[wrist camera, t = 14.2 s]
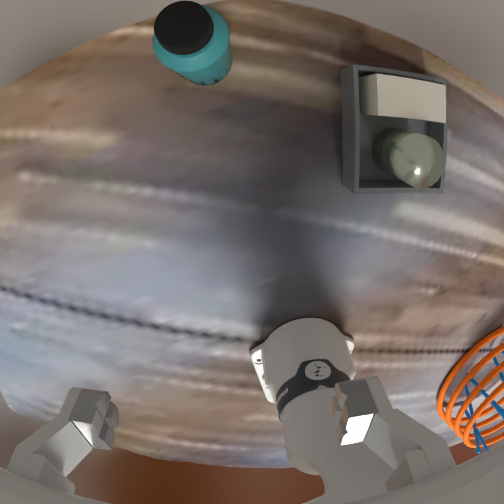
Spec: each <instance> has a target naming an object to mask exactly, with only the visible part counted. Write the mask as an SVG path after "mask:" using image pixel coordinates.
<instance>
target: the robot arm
mask: <svg viewBox="0 0 504 504" xmlns="http://www.w3.org/2000/svg"><path fill="white" fill-rule="evenodd" d="M353 348H354V341H353V339H351V338H349V337H347V336H345V335H343V334H342V333H341V332H340V331H339V330H338V328H337V327H336V326H335V325H333V324H332V323H330V322H328V321H326V320H323V319H318V318H302V319H297V320H293V321H290V322H288V323H286V324H284V325H282V326H280V327H279V328H277V329H276V330H275V331H273V332H272V333H271V334H270V336H269V337H268V338H267V339H266V341H265V342H264V343H262V344H261V345H259V346H257V347H255V348H254V349H252V350H251V352H250V356H251V360H252V362H253V365H254V367H255V370H256V373H257V375H258V378H259V380H260V383H261V386H262V388H263V391H264V393H265V396H266V398H267V400H268V401H269V402H272V403H275V406H276V409H277V414H278V416H279V419H280V421H281V422H282V426H283V433H284V441H285V448H286V455H287V458H288V460H289V462H290V463H291V464H292V465H293V466H294V467H296V468H297V469H298V470H300V471H303V472H305V473H309V474H314V475H321V477H322V480H323V482H324V485H325V493H324V495H322V496H320V497H318V498H316V499H313V500H311V501H309V502H306V503H304V504H504V442H502V443H501V444H499V445H497V446H495V447H494V448H492V449H490V450H488V451H486V452H484V453H482V454H480V455H478V456H476V457H474V458H473V459H470V460H468V461H466V462H464V463H462V464H460V465H458V466H456V464H455V461H454V459H453V457H452V455H451V453H450V450H449V448H448V446H447V444H446V442H445V440H444V438H442V437H441V436H439V435H438V434H436V433H434V432H433V431H431V430H429V429H428V428H426V427H425V426H423V425H422V424H420V423H418V422H417V421H415V420H414V419H412V418H411V417H409V416H408V415H406V414H404V413H403V412H401V411H400V410H398V409H393V408H392V406H391V403H390V401H389V399H388V397H387V394H386V392H385V390H384V388H383V386H382V383H381V381H380V379H379V377H378V376H372V377H367V378H360V379H355V380H353V378H354V375H355V374H356V371H355V367H354V364H353V360H352V357H351V353H352V350H353ZM110 400H111V396H110V394H109V393H108V392H106V391H98V390H90V389H83V388H75V387H72V388H71V389H70V390H69V392H68V395H67V397H66V399H65V401H64V404H63V406H62V408H61V410H60V413H59V415H58V417H57V418H53V419H52V420H51V421H49V422H48V423H47V424H45V425H44V426H43V427H41V428H40V429H39V430H37V431H36V432H35V433H34V434H32V435H31V436H30V437H28V438H27V439H25V440H24V441H23V442H21V443H20V444H19V445H17V446H16V449H15V451H14V453H13V456H12V458H11V461H10V463H9V466H8V468H7V470H5V469H3V468H0V504H109V503H105V502H100V501H96V500H92V499H88V498H83V497H80V496H77V495H73V494H74V490H75V485H74V484H73V483H72V482H71V481H70V480H69V479H67V478H66V476H67V475H68V474H69V473H70V472H71V471H72V470H73V469H74V468H75V467H76V466H77V465H78V463H79V462H80V461H81V460H82V459H83V458H84V457H85V456H86V455H87V454H88V453H89V452H90V451H91V450H92V447H93V448H100V449H107V450H111V449H112V446H113V442H114V438H115V435H114V433H113V431H114V430H115V429H116V428H117V427H118V423H119V412H118V408H117V407H116V405H115V404H114V403H112V402H111V401H110Z"/></svg>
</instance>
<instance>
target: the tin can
mask: <svg viewBox="0 0 504 504" xmlns="http://www.w3.org/2000/svg"><path fill="white" fill-rule="evenodd" d="M372 154H373V158H374V160H375V162H376V164H377V165H378V166H379V167H380V168H381V169H383V170H385V171H387V172H388V173H390V174H392V175H394V176H396V177H397V178H399V179H401V180H403V181H404V182H406V183H408V184H409V185H411V186H413V187H415V188H419V189H424V188H428V187H430V186H432V185H433V184H435V183H436V182H437V181H438V179H439V178H440V176H441V174H442V172H443V168H444V154H443V151H442V148H441V146H440V145H439V143H438V142H437V141H436V140H435V139H433V138H432V137H429V136H426V135H422V134H419V133H415V132H411V131H407V130H403V129H399V128H394V127H389V128H385V129H383V130H382V131H380V132H379V133H378V134H377V135H376V137H375V139H374V141H373V145H372Z"/></svg>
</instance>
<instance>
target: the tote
mask: <svg viewBox="0 0 504 504" xmlns="http://www.w3.org/2000/svg"><path fill="white" fill-rule="evenodd" d="M372 74H384V75H391V76H398V77H405V78H411V79H416V80H422V81H427V82H432V83H437V84H442V85H445V86H446V123H441V122H434V121H427V120H419V119H410V118H401V117H390V116H378V115H364V114H360V109H359V82H358V78H359V77H363V76H368V75H372ZM340 81H341V105H342V184H343V185H344V186H346V187H347V188H348V189H350V190H351V191H352V192H354V193H380V192H437V193H443V188H444V177H445V165H446V149H447V80H446V79H442V78H437V77H433V76H428V75H423V74H418V73H412V72H407V71H401V70H394V69H388V68H380V67H372V66H364V65H354V64H353V65H350V66H347V67H344V68H342V69H340ZM389 127H394V128H399V129H403V130H407V131H411V132H415V133H419V134H422V135H426V136H429V137H432V138H433V139H435V140H436V141H437V142H438V143H439V145H440V146H441V148H442V151H443V154H444V168H443V172H442V174H441V176H440V178H439V179H438V181H437V182H436V183H435V184H433V185H432V186H430V187H428V188H424V189H419V188H415V187H413V186H411V185H409V184H408V183H406V182H404V181H403V180H401V179H399V178H397V177H396V176H394V175H392V174H390V173H388V172H387V171H385V170H383V169H381V168H380V167H379V166H378V165H377V164H376V162H375V160H374V158H373V154H372V145H373V141H374V139H375V137H376V135H377V134H378V133H379V132H380V131H382V130H383V129H385V128H389Z"/></svg>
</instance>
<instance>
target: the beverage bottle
mask: <svg viewBox="0 0 504 504" xmlns="http://www.w3.org/2000/svg"><path fill="white" fill-rule="evenodd" d="M153 48H154V52H155V54H156V56H157V58H158V59H159V60H160V61H161V62H162V63H163V64H164V65H165V66H167V67H168V68H170V70H171V69H172V70H174V71H176V72H177V73H179V74H180V75H182V77H183V78H184V77H185V78H187V79H189V80H190V81H192V83H193V82H194V84H195V83H196V84H197V85H198V84H200V85H209V84H210V85H211V84H212V85H214V84H213V83H217V82H218V83H219V82H220V80H221V79H223V78H224V77H225V76H226V75H228V74H227V73H228V72H229V70H230V68H231V66H232V65H231V63H232V61H233V60H232V58H231V51H230V45H229V29H228V25H227V23H226V21H225V19H224V18H223V17H222V16H221V15H220V14H219V13H218V12H217V11H215V10H214V9H212V8H209V7H207V6H202V5H200V4H198V3H195V2H192V1H179V2H175V3H173V4H170V5H168V6H167V7H165V8H164V9H163V10H162V11H161V12H160V13H159V15H158V16H157V18H156V20H155V24H154V36H153ZM174 71H173V72H174ZM200 85H199V86H200Z"/></svg>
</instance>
